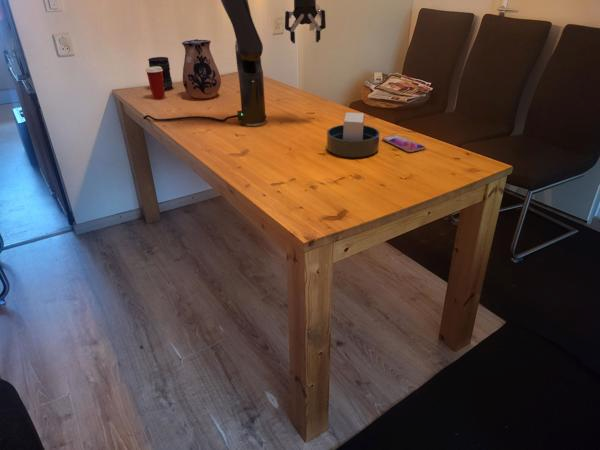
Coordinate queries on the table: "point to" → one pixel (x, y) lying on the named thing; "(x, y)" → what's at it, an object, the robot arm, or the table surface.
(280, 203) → the table surface
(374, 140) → the bowl
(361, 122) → the cosmetics box
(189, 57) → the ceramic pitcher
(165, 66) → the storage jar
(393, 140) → the smartphone
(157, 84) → the paper cup
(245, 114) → the robot arm
